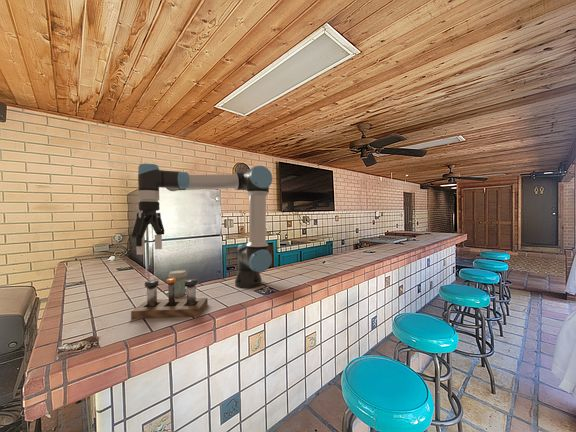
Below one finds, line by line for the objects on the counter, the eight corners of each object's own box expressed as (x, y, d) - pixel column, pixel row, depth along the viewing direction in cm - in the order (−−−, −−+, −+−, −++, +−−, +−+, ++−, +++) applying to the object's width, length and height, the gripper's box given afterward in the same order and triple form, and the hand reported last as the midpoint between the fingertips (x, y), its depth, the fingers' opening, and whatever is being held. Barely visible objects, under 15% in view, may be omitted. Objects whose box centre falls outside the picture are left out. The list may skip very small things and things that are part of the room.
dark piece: (177, 302, 101) (177, 278, 101) (174, 305, 98) (173, 280, 97) (169, 302, 101) (168, 278, 101) (165, 305, 97) (165, 280, 97)
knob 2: (199, 300, 102) (198, 278, 102) (195, 305, 97) (194, 282, 97) (187, 301, 102) (187, 279, 102) (182, 305, 97) (182, 282, 97)
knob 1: (161, 302, 101) (160, 279, 101) (155, 306, 96) (154, 283, 96) (149, 302, 101) (148, 280, 101) (142, 307, 96) (142, 283, 96)
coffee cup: (164, 297, 116) (164, 272, 116) (179, 291, 124) (179, 268, 123) (176, 299, 112) (175, 274, 112) (191, 294, 120) (190, 270, 119)
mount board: (207, 304, 106) (207, 297, 106) (199, 316, 94) (198, 308, 94) (147, 306, 104) (147, 299, 104) (131, 318, 92) (131, 311, 92)
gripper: (155, 202, 112) (156, 247, 112) (120, 199, 87) (121, 257, 87) (171, 202, 112) (172, 247, 112) (140, 199, 87) (141, 257, 87)
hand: (150, 251), depth 100 cm, fingers open, 13 cm apart
